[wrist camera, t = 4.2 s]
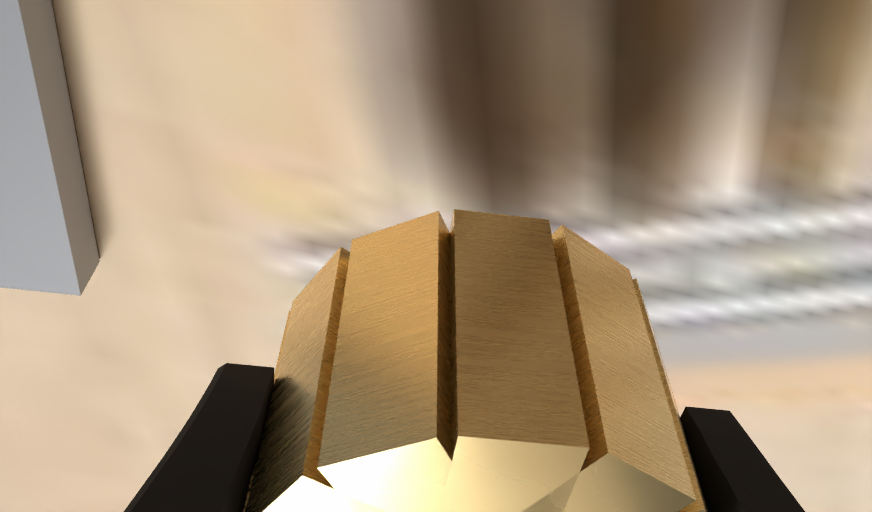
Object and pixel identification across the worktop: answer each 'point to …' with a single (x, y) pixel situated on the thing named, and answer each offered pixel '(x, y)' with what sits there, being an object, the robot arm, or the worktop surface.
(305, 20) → the worktop surface
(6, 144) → the gear board
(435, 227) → the brass gear
